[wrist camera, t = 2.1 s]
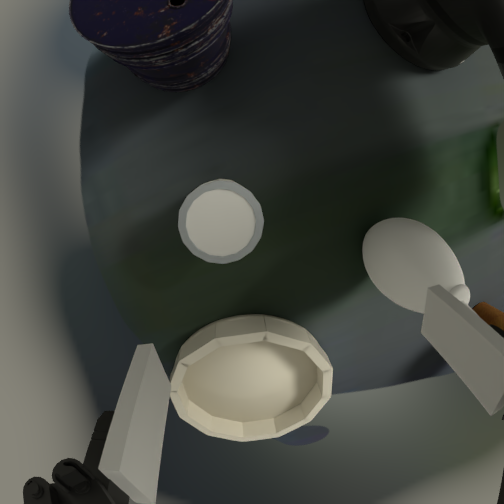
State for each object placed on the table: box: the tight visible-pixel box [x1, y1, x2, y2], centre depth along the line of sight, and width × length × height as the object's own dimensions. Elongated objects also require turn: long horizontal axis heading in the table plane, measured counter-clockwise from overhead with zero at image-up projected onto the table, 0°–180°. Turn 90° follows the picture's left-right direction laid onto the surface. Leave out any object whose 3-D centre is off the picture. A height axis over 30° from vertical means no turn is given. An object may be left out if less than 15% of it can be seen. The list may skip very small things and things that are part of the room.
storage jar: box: [69, 0, 233, 92], centre depth 17 cm, size 10×10×15 cm
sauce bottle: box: [362, 217, 477, 315], centre depth 24 cm, size 8×8×18 cm
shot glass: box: [178, 179, 264, 264], centre depth 27 cm, size 7×7×7 cm
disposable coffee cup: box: [472, 302, 504, 331], centre depth 34 cm, size 10×10×12 cm
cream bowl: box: [169, 314, 333, 442], centre depth 36 cm, size 20×20×4 cm
